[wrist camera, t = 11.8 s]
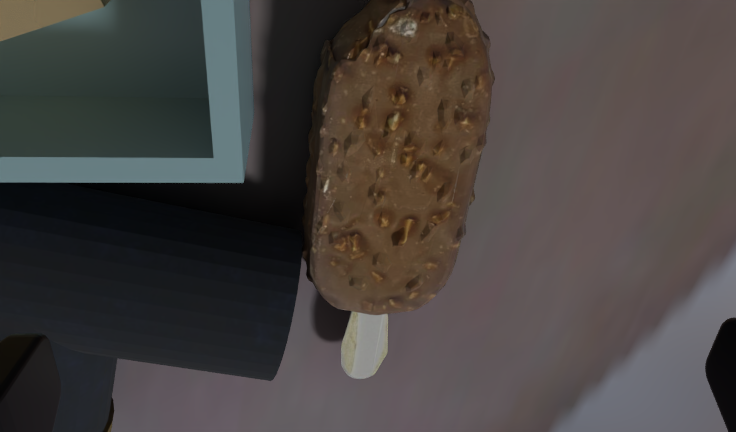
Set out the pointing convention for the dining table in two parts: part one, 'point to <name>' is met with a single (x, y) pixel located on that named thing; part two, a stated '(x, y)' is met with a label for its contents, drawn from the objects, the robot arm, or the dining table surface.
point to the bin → (130, 95)
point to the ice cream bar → (393, 162)
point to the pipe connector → (140, 289)
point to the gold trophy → (40, 14)
